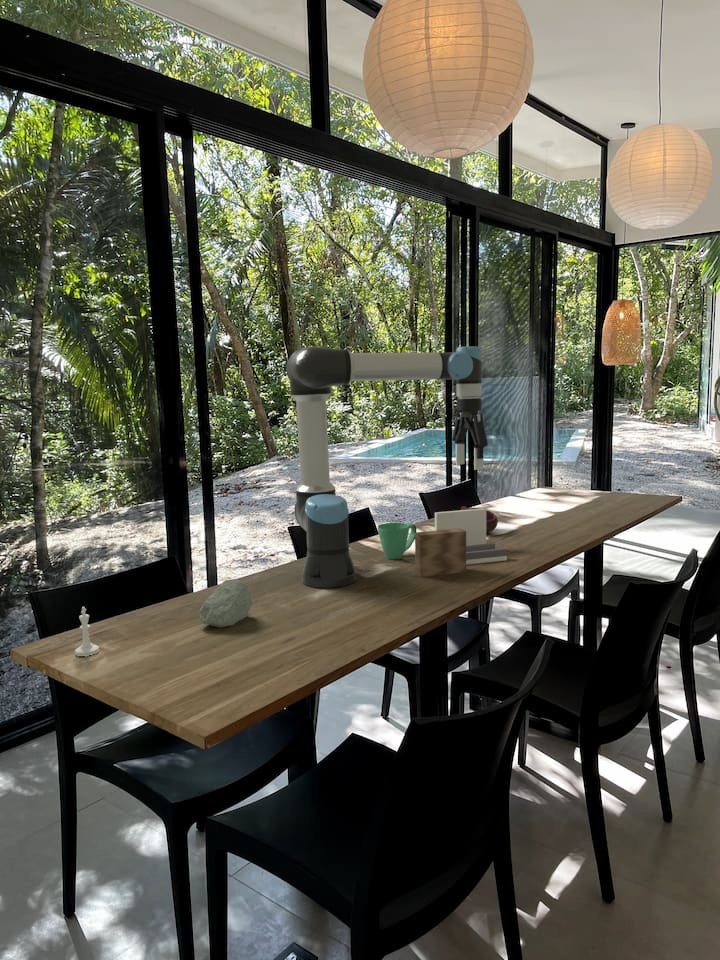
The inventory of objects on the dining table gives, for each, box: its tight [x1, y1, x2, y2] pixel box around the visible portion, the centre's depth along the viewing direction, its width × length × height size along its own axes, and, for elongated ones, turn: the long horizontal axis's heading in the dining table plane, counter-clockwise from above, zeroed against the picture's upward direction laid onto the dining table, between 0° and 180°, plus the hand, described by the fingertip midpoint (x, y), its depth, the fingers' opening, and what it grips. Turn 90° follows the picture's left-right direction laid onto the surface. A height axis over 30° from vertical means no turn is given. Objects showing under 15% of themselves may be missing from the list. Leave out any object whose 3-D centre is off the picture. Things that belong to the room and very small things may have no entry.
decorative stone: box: [198, 578, 253, 629], centre depth 168 cm, size 13×11×10 cm
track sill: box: [434, 508, 508, 566], centre depth 220 cm, size 17×16×13 cm
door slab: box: [414, 528, 467, 578], centre depth 204 cm, size 14×4×12 cm, turn 106°
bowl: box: [460, 506, 499, 534], centre depth 253 cm, size 16×13×8 cm
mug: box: [377, 522, 417, 560], centre depth 223 cm, size 15×10×10 cm
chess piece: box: [74, 606, 100, 657], centre depth 151 cm, size 5×5×10 cm
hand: (469, 466), depth 221 cm, fingers open, 13 cm apart
